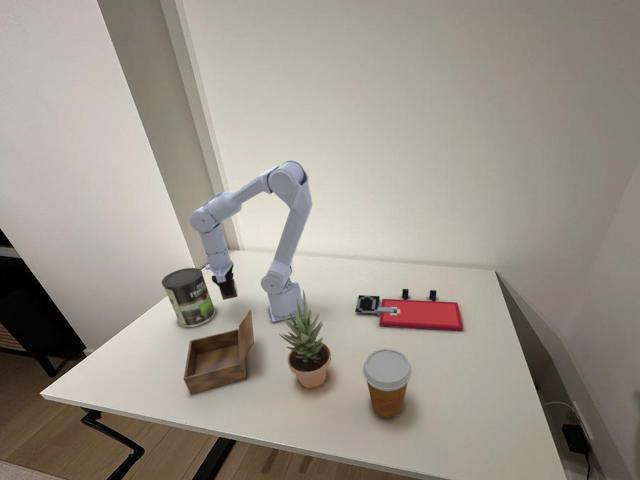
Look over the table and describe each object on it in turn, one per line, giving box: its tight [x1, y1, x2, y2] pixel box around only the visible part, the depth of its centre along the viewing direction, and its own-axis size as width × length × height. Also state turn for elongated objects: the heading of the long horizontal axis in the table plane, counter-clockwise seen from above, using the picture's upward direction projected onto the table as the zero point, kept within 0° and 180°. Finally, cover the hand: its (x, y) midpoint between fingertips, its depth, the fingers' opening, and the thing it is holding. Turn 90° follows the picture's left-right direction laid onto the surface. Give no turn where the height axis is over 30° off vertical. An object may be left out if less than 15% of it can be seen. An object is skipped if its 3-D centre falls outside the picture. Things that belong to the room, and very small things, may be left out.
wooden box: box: [183, 328, 247, 395], centre depth 77 cm, size 12×13×5 cm
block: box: [219, 278, 238, 301], centre depth 93 cm, size 4×4×4 cm
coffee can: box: [161, 267, 216, 328], centre depth 92 cm, size 10×10×14 cm
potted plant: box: [279, 289, 332, 389], centre depth 68 cm, size 10×10×25 cm
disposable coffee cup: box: [362, 348, 413, 419], centre depth 64 cm, size 10×10×12 cm
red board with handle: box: [354, 288, 464, 332], centre depth 93 cm, size 30×3×15 cm
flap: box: [238, 309, 255, 362], centre depth 76 cm, size 6×13×1 cm
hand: (229, 290), depth 94 cm, fingers closed on block, 4 cm apart
